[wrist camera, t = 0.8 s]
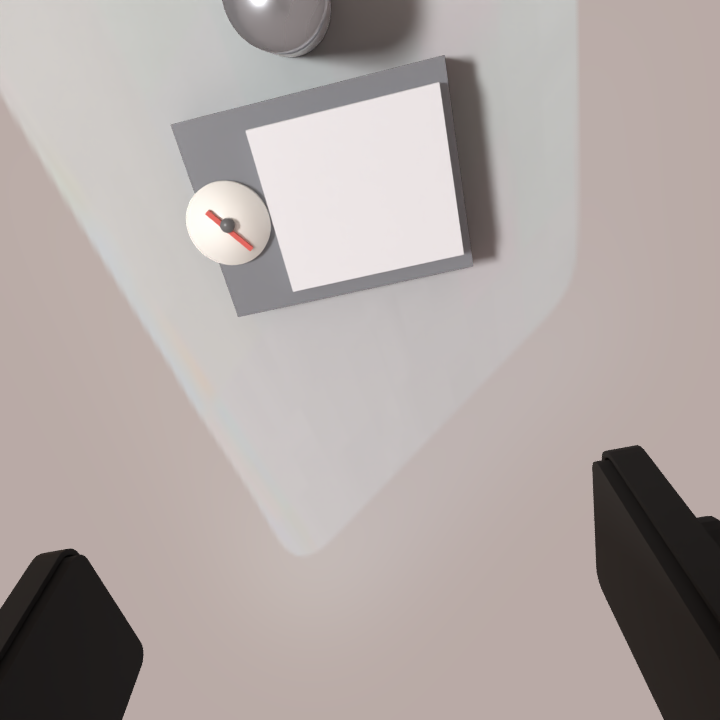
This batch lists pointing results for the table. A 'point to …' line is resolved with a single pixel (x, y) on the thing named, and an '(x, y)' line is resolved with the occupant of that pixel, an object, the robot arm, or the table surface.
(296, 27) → the cylinder
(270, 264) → the scale
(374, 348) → the table surface
